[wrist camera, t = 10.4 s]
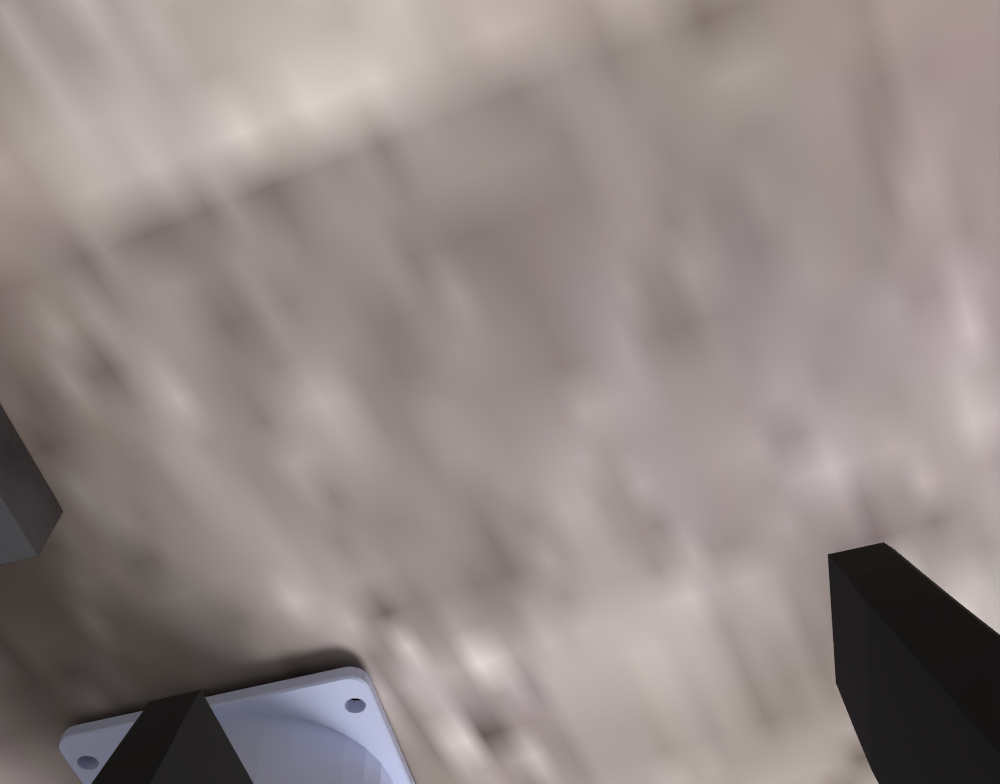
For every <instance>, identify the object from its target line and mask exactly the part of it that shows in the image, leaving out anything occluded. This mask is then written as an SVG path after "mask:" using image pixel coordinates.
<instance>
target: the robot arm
mask: <svg viewBox="0 0 1000 784" xmlns="http://www.w3.org/2000/svg"><path fill="white" fill-rule="evenodd" d="M828 564H829V580H830V596H831V611H832V627H833V643H834V659H835V675H836V684H837V687H838V689H839V692H840V694H841V697H842V699H843V702H844V704H845V707H846V709H847V712H848V714H849V717H850V719H851V722H852V724H853V726H854V729H855V731H856V734H857V736H858V739H859V741H860V743H861V746H862V748H863V750H864V753H865V755H866V758H867V760H868V762H869V765H870V767H871V770H872V772H873V773H874V775H875V777H876V779H877V781H878V783H879V784H1000V635H999V634H998V633H997V632H996V631H994V630H993V629H992V628H990V627H989V626H988V625H987V624H985V623H984V622H983V621H981V620H980V619H979V618H978V617H976V616H975V615H974V614H973V613H971V612H970V611H969V610H968V609H966V608H965V607H964V606H963V605H961V604H960V603H959V602H957V601H956V600H955V599H954V598H953V597H951V596H950V595H949V594H948V593H946V592H945V591H944V590H943V589H941V588H940V587H939V586H938V585H937V584H935V583H934V582H933V581H932V580H930V579H929V578H928V577H927V576H926V575H924V574H923V573H922V572H921V571H920V570H918V569H917V568H916V567H915V566H914V565H912V564H911V563H910V562H909V561H908V560H906V559H905V558H904V557H903V556H902V555H900V554H899V553H898V552H897V551H896V550H894V549H893V548H891V547H890V546H888V545H887V544H885V543H879V544H874V545H869V546H865V547H860V548H856V549H851V550H846V551H842V552H837V553H832V554H828ZM352 698H358V699H361V700H360V701H354V700H351V699H352ZM59 749H60V752H61V754H62V755H63V756H64V758H65V759H66V761H67V762H68V763H69V765H70V766H71V768H72V769H73V770H74V772H75V773H76V775H77V776H78V778H79V779H80V780H81V782H82V783H83V784H415V782H414V780H413V778H412V775H411V773H410V771H409V768H408V766H407V764H406V761H405V759H404V757H403V754H402V752H401V750H400V747H399V745H398V743H397V740H396V738H395V736H394V733H393V731H392V728H391V726H390V724H389V721H388V719H387V717H386V714H385V712H384V710H383V707H382V705H381V703H380V700H379V698H378V696H377V693H376V691H375V689H374V686H373V684H372V682H371V679H370V677H369V676H368V674H367V673H366V672H365V671H363V670H362V669H360V668H356V667H343V668H338V669H334V670H329V671H324V672H320V673H315V674H311V675H306V676H301V677H297V678H292V679H287V680H283V681H278V682H274V683H269V684H264V685H260V686H255V687H250V688H246V689H241V690H236V691H232V692H227V693H223V694H218V695H213V696H209V697H205V696H204V695H203V693H202V691H201V690H199V691H195V692H190V693H186V694H181V695H176V696H172V697H167V698H162V699H158V700H153V701H150V702H149V704H148V705H147V706H146V708H145V709H144V710H143V711H139V712H135V713H130V714H125V715H121V716H116V717H111V718H107V719H102V720H98V721H93V722H88V723H84V724H79V725H74V726H72V727H69V728H68V729H67V730H66V731H65V732H64V733H63V735H62V738H61V740H60V743H59Z"/></svg>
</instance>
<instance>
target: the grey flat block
mask: <svg viewBox="0 0 1000 784" xmlns="http://www.w3.org/2000/svg"><path fill="white" fill-rule="evenodd" d="M62 513H63V511H62V509H61V507H60V506H59V504H58V502H57V501H56V499H55V497H54V496H53V494H52V492H51V490H50V489H49V487H48V485H47V484H46V482H45V480H44V479H43V477H42V475H41V473H40V472H39V470H38V468H37V467H36V465H35V463H34V462H33V460H32V458H31V456H30V455H29V453H28V451H27V450H26V448H25V446H24V445H23V443H22V441H21V440H20V438H19V436H18V434H17V433H16V431H15V429H14V428H13V426H12V424H11V423H10V421H9V419H8V417H7V416H6V414H5V412H4V411H3V409H2V407H1V406H0V565H1V564H6V563H10V562H15V561H19V560H23V559H28V558H32V557H37V556H38V555H39V553H40V552H41V550H42V548H43V546H44V544H45V543H46V541H47V539H48V537H49V536H50V534H51V532H52V530H53V529H54V527H55V525H56V523H57V522H58V520H59V518H60V516H61V515H62Z"/></svg>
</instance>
